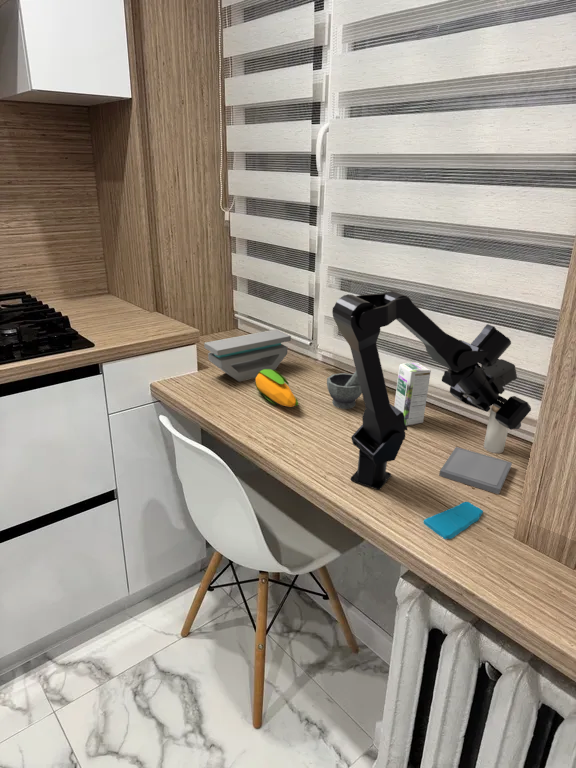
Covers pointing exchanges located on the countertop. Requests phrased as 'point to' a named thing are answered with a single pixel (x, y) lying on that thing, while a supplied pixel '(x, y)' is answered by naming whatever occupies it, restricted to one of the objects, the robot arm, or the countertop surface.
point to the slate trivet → (476, 470)
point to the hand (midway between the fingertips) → (503, 418)
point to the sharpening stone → (248, 353)
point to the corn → (275, 388)
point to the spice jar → (495, 433)
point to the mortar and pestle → (344, 389)
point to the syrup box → (412, 392)
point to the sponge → (454, 520)
